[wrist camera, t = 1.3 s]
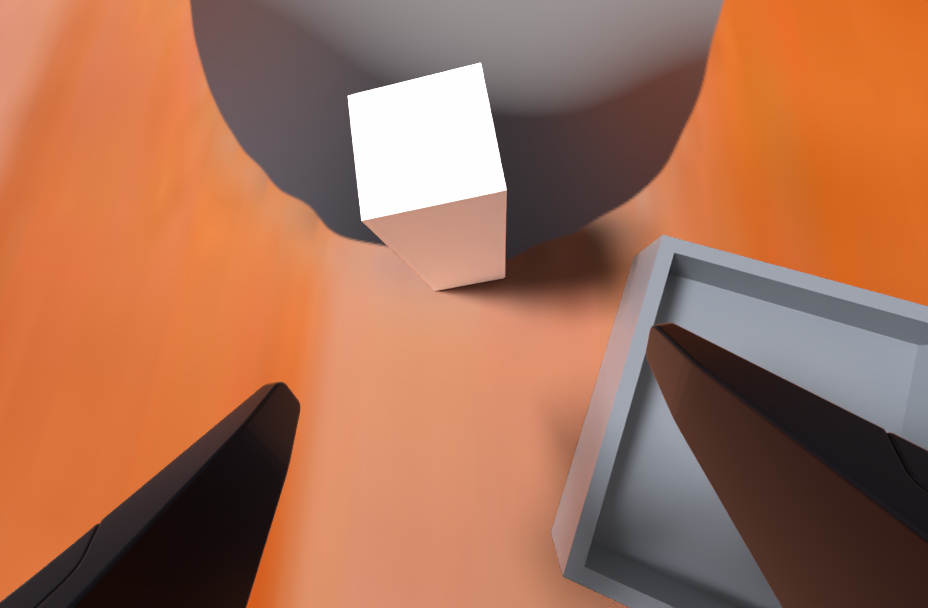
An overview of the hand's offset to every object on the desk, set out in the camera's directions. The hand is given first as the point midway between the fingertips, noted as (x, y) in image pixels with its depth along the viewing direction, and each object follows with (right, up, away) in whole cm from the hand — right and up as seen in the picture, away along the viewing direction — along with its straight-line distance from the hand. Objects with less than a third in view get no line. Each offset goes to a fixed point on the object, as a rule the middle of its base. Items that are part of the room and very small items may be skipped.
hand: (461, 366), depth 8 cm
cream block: (0, +5, +15) cm, 16 cm away
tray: (+16, -6, +11) cm, 20 cm away
